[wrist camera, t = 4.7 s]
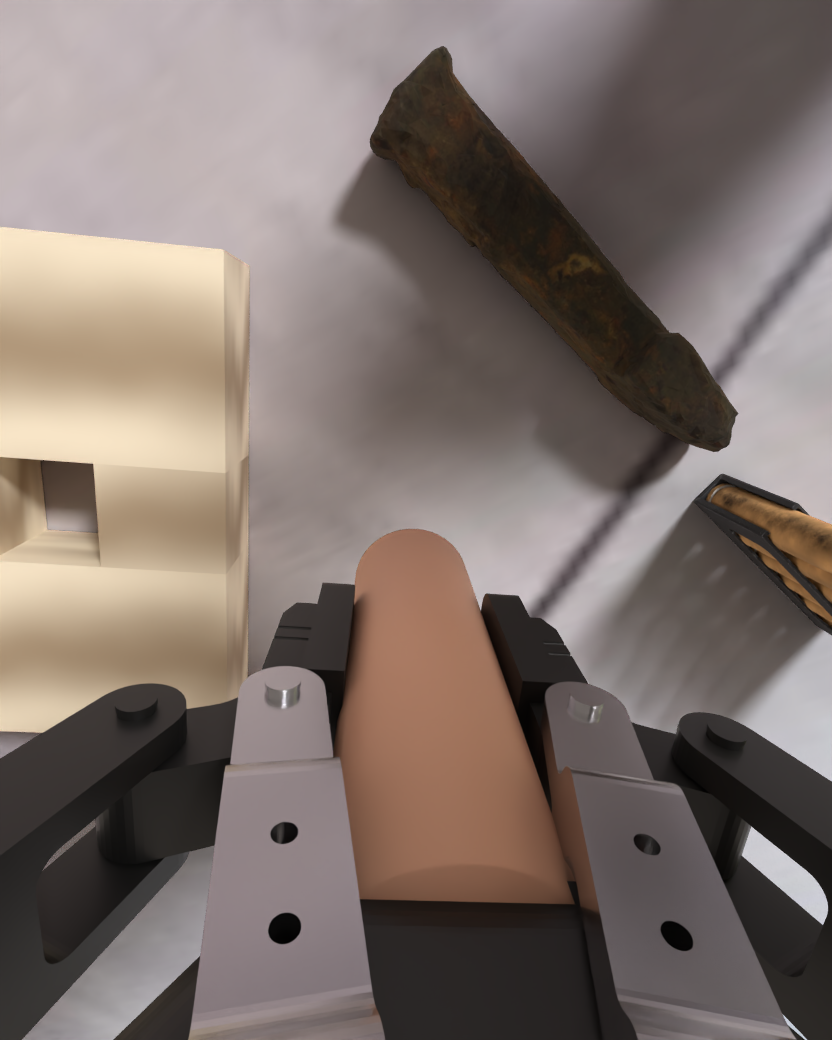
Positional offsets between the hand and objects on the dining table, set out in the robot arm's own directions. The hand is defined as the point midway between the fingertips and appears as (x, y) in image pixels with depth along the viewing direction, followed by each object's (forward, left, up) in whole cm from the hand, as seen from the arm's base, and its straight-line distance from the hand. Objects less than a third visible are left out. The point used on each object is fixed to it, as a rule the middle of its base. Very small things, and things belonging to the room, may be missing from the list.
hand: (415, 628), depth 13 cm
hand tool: (-9, +7, -15) cm, 19 cm away
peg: (0, 0, -3) cm, 3 cm away
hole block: (+1, -14, -14) cm, 20 cm away
